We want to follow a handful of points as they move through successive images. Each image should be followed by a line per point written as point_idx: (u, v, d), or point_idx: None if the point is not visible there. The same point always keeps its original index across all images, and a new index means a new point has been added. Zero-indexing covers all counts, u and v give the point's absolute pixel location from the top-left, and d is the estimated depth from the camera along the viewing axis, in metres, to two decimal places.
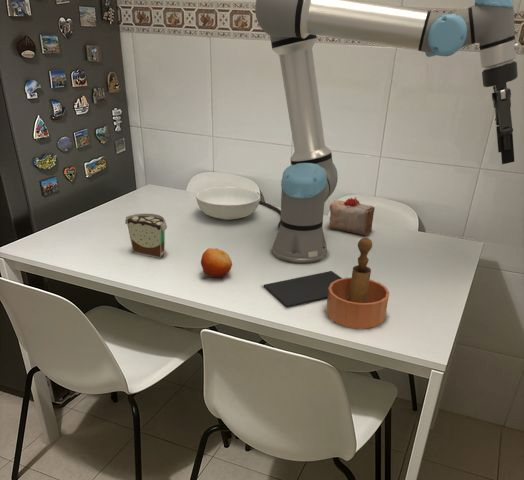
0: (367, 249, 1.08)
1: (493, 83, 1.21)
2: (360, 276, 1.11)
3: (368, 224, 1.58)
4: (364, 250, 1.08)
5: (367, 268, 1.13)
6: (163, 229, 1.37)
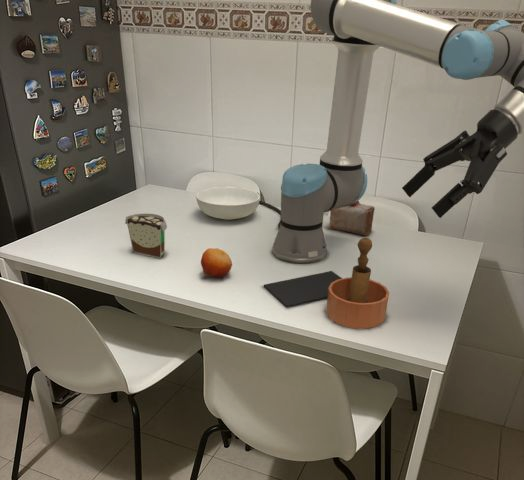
0: (367, 249, 1.08)
1: (498, 132, 0.98)
2: (360, 276, 1.11)
3: (368, 224, 1.58)
4: (364, 250, 1.08)
5: (367, 268, 1.13)
6: (163, 229, 1.37)
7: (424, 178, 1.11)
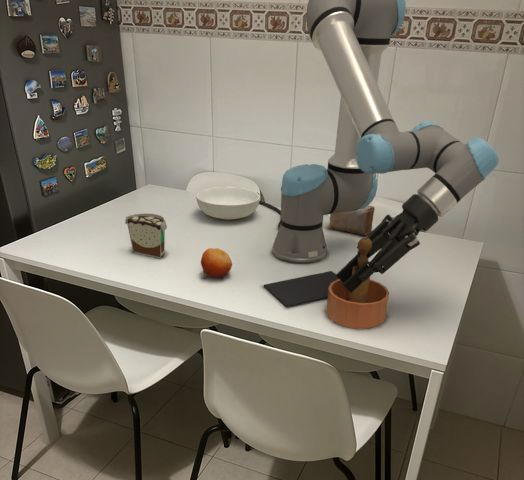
0: (367, 249, 1.08)
1: (418, 217, 1.04)
2: None
3: (368, 224, 1.58)
4: (364, 250, 1.08)
5: None
6: (163, 229, 1.37)
7: None
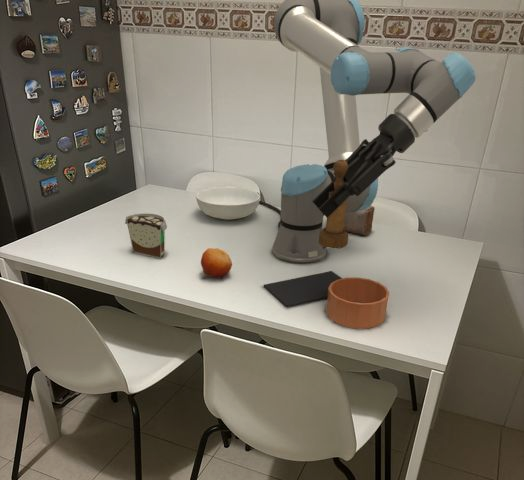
0: (343, 171, 1.06)
1: (394, 136, 1.03)
2: None
3: (368, 224, 1.58)
4: (340, 172, 1.07)
5: None
6: (163, 229, 1.37)
7: None
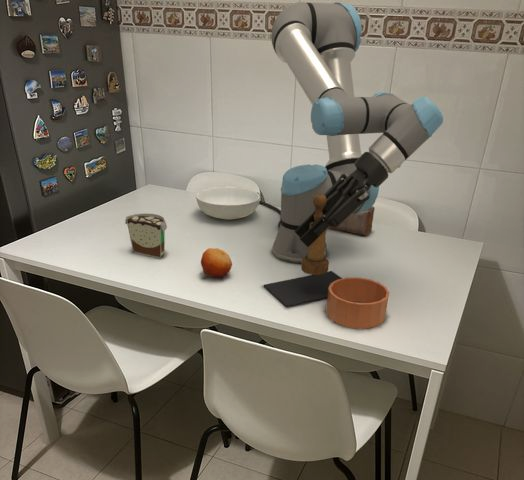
0: (321, 204, 1.14)
1: (368, 172, 1.10)
2: None
3: (368, 224, 1.58)
4: (319, 205, 1.15)
5: None
6: (163, 229, 1.37)
7: None
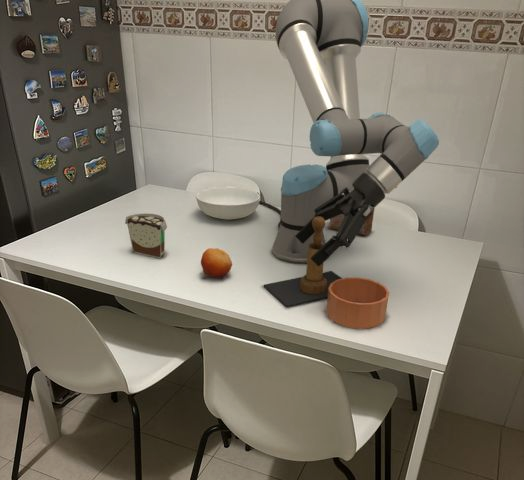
0: (320, 227, 1.17)
1: (365, 193, 1.13)
2: (315, 252, 1.20)
3: (368, 224, 1.58)
4: (317, 228, 1.17)
5: (322, 245, 1.22)
6: (163, 229, 1.37)
7: None
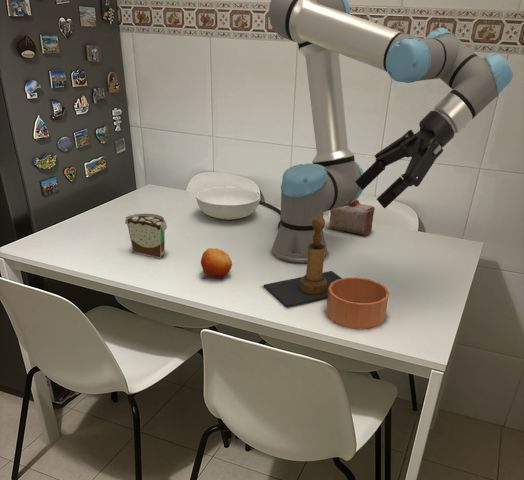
0: (320, 227, 1.17)
1: (435, 131, 1.09)
2: (315, 252, 1.20)
3: (368, 224, 1.58)
4: (317, 228, 1.17)
5: (322, 245, 1.22)
6: (163, 229, 1.37)
7: (375, 173, 1.21)
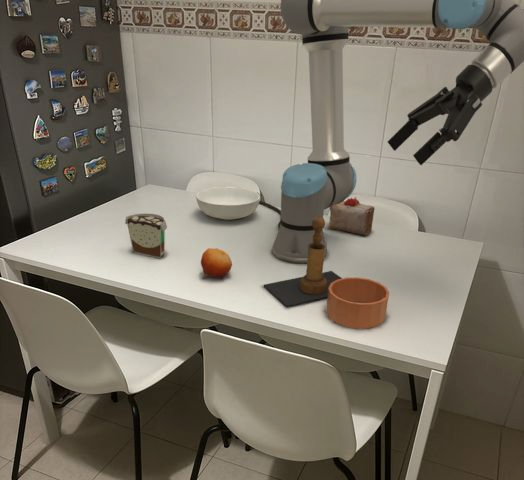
0: (320, 227, 1.17)
1: (474, 85, 1.06)
2: (315, 252, 1.20)
3: (368, 224, 1.58)
4: (317, 228, 1.17)
5: (322, 245, 1.22)
6: (163, 229, 1.37)
7: (408, 133, 1.19)
